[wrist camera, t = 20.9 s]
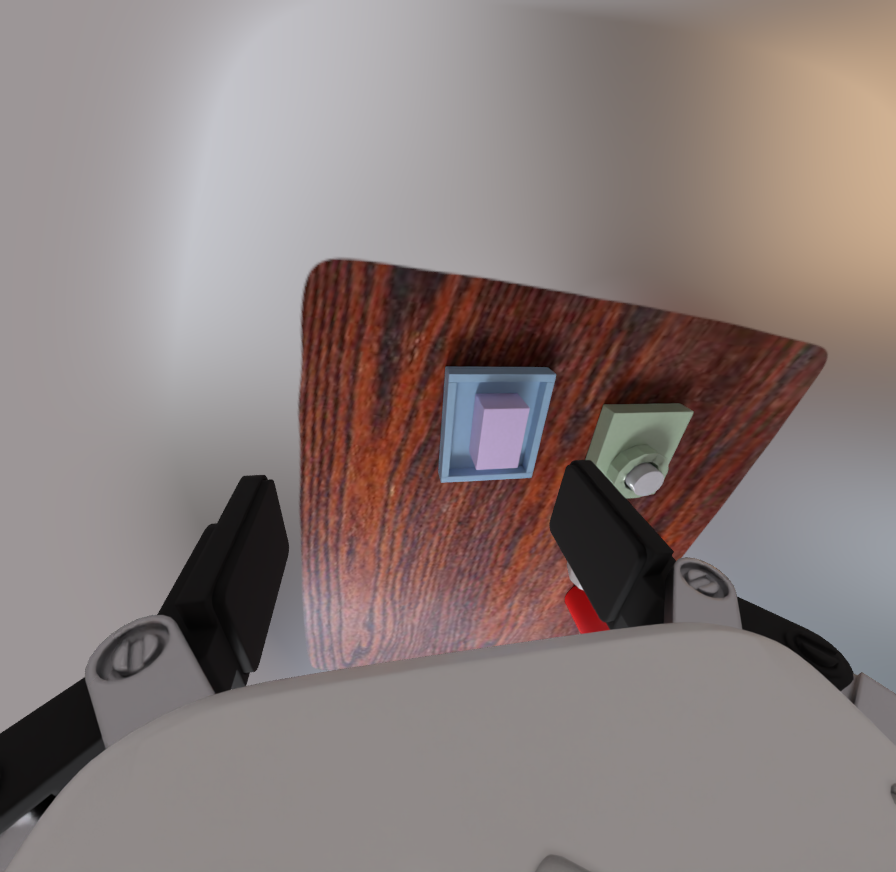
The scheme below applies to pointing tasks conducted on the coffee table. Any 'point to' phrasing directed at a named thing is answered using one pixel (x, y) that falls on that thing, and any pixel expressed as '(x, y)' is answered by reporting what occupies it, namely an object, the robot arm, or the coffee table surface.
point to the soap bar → (497, 430)
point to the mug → (583, 612)
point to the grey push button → (644, 479)
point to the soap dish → (459, 415)
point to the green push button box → (636, 439)
